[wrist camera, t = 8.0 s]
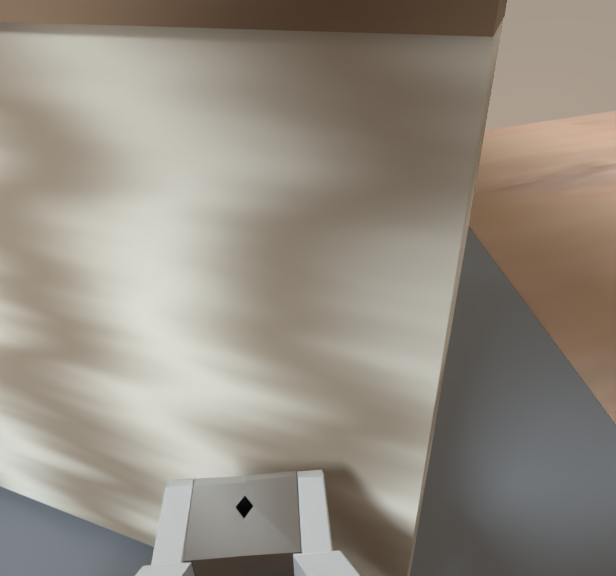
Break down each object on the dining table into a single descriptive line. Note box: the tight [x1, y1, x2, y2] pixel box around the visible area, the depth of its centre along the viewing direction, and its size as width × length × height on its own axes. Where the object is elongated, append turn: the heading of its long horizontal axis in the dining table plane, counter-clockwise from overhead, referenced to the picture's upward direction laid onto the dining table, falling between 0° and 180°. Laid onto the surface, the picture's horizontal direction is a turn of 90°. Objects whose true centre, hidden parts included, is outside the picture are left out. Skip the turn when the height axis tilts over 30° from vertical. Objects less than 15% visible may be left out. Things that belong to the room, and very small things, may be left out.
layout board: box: [0, 226, 616, 576], centre depth 23 cm, size 32×34×1 cm
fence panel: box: [0, 0, 507, 576], centre depth 13 cm, size 18×2×16 cm, turn 69°
